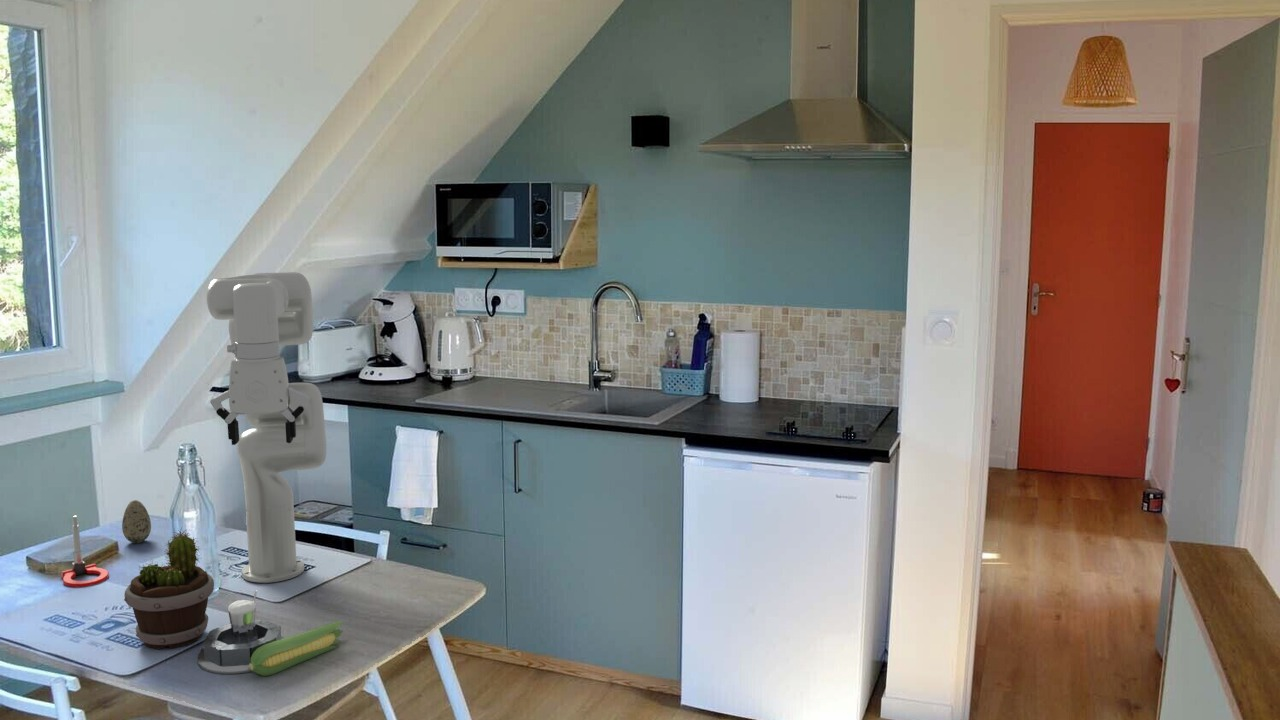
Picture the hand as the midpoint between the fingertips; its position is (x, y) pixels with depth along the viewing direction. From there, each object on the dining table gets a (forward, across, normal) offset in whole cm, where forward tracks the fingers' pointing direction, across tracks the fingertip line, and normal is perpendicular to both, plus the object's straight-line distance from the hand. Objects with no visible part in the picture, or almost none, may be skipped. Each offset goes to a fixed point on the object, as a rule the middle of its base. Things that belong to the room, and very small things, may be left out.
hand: (262, 442), depth 195 cm
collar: (+34, -2, -16) cm, 38 cm away
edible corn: (+35, +8, -19) cm, 41 cm away
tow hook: (+35, -42, +26) cm, 60 cm away
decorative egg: (+34, -38, +48) cm, 70 cm away
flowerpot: (+34, -16, -7) cm, 39 cm away
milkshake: (+34, -2, -16) cm, 37 cm away
